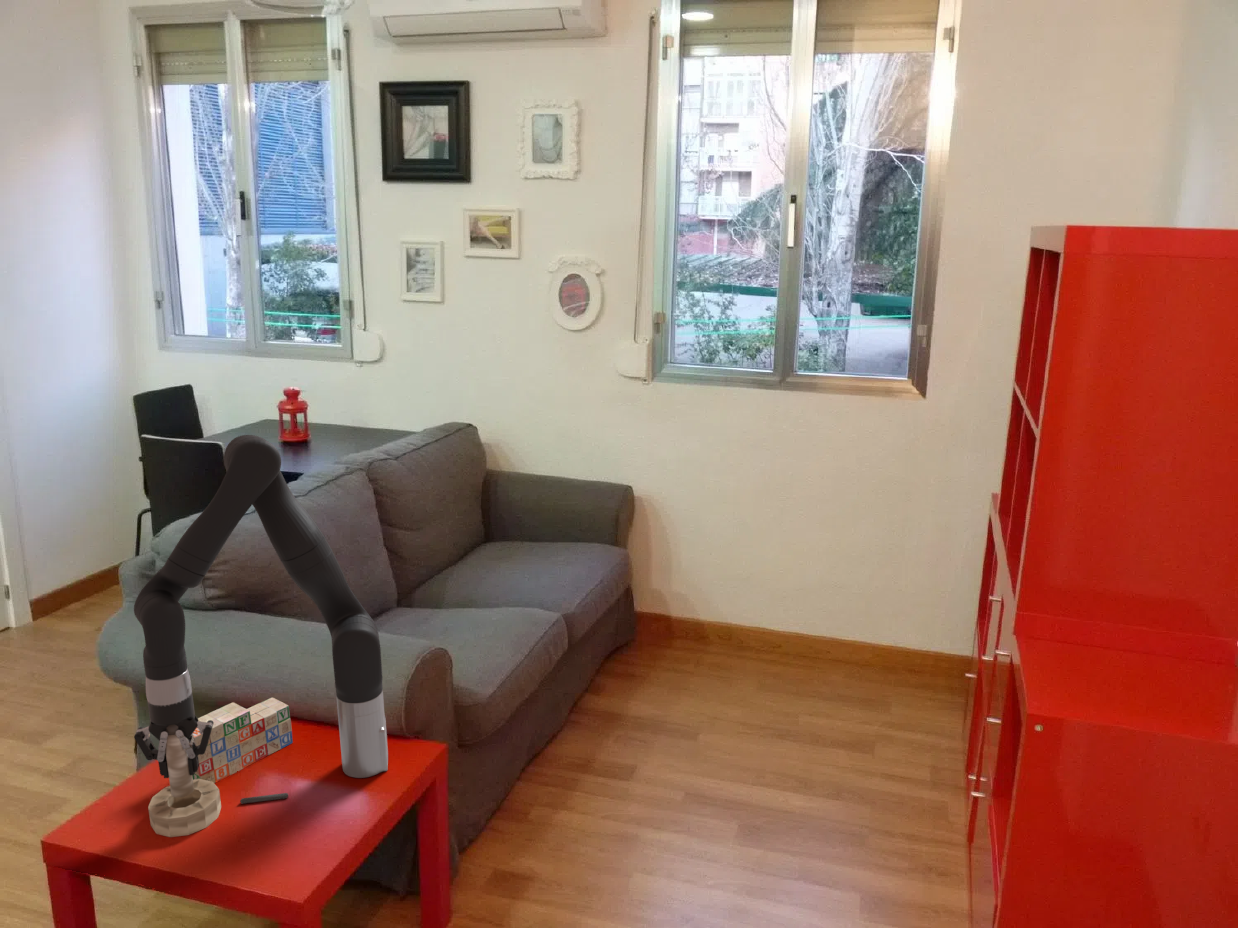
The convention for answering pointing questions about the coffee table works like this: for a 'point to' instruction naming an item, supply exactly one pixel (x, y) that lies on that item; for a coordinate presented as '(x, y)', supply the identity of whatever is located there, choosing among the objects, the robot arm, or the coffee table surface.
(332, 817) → the coffee table surface
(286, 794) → the dark grey rod
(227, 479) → the robot arm
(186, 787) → the grey tipped beige rod
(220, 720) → the stack of blocks
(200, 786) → the bead
